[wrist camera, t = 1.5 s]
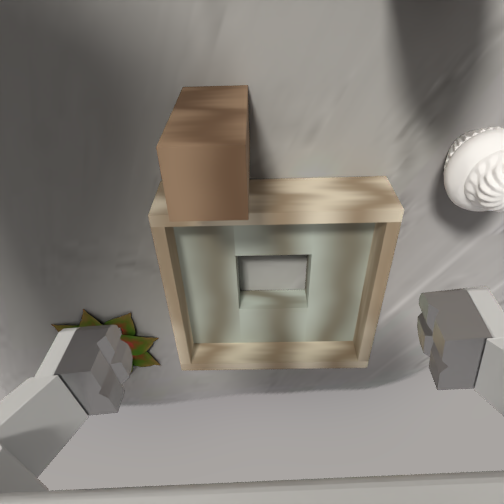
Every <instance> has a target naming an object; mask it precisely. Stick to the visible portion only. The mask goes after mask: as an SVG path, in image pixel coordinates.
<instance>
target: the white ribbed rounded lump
mask: <svg viewBox="0 0 504 504" xmlns="http://www.w3.org/2000/svg"><path fill="white" fill-rule="evenodd" d="M443 175H444V186H445V190H446V192H447V195H448V197H449V198H450V200H451V201H452V202H453V203H454V204H455V205H457V206H459V207H460V208H463V209H466V210H470V211H488V210H489V211H495V212H504V128H500V127H494V128H492V127H488V128H483V129H478V130H474V131H469V132H468V133H465V134H464V135H461V136H460V138H457V139H456V141H454V144H452V145H451V148H450V149H449V152H448V155H447V159H446V162H445V165H444V173H443Z"/></svg>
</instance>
